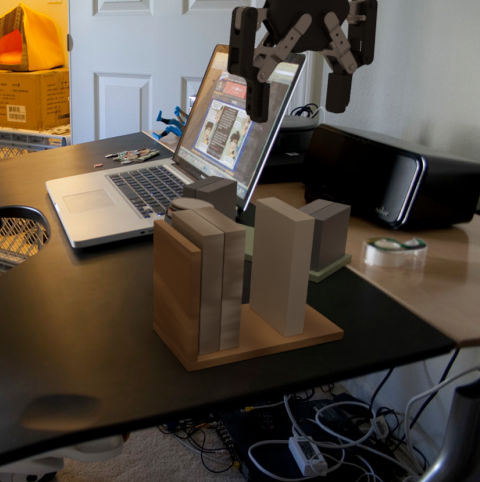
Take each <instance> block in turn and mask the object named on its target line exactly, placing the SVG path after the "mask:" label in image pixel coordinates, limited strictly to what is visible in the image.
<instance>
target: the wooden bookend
mask: <svg viewBox="0 0 480 482" xmlns="http://www.w3.org/2000/svg"><path fill="white" fill-rule="evenodd" d="M237 223H238V222H236V221H235V222H234V221H233V220H231V219H230V218H228V217H226V216H225V215H223V214H222V213H220V212H219V211H217V210H216V209H214V208H213V207H211V206H210V207H203V208H196V209H192V210H191V209H189V210H182V211H175V212H172V219H171V226H170V225H169V224H168V223H166V222H165V221H164V218H163V219H162V218H160V219H154V220H153V275H152V276H153V279H152V281H153V283H152V284H153V285H152V287H153V289H152V291H153V292H152V293H153V294H152V296H153V297H152V299H153V300H152V301H153V302H152V303H153V307H152V320H153V321H152V329H153V331H154V332H155V333H156V334H157V336H158V337H159V338H160V339H161V341H162V342H163V343H164V344H165V345H166V347H167V348H168V349H169V350H170V351H171V353H172V354H173V355H174V356H175V358H176V359H177V360H178V361H179V363H180V364H181V365H182V366H183V368H184V369H185V370H186V371H187V372H188V373H189V372H194V371H200V370H204V369H209V368H213V367H218V366H223V365H227V364H232V363H237V362H242V361H246V360H251V359H255V358H260V357H265V356H269V355H273V354H278V353H284V352H287V351H292V350H298V349H302V348H306V347H312V346H316V345H321V344H325V343H330V342H334V341H338V340H343V339H344V333H345V331H344V330H343V329H342V328H341V327H339V326H338V325H337V324H336V323H334V322H332V321H331V320H329V319H328V318H327V317H326V316H324V315H323V314H322V313H320V312H319V311H317V310H316V309H315V308H313V307H312V306H310V305H309V304H308V303H306V308H305V317H304V326H303V334H299V335H294V336H289V337H284V336H283V335H281V334H280V333H279V332H278V331H277V330H276V329H274V328H273V327H272V326H271V325H270V324H269V323H267V322H266V321H265V320H264V319H263V318H261V317H260V316H259V315H258V314H257V313H256V312H254V311H253V310H252V309H251V308H250V307H249V302H247V303H243V304H242V302H243V301H242V300H243V289H244V288H243V287H244V272H245V271H244V270H245V260H244V257H245V241H246V229H245V228H243V227H242V226H240V225H239V224H240V223H238V224H237Z"/></svg>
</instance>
